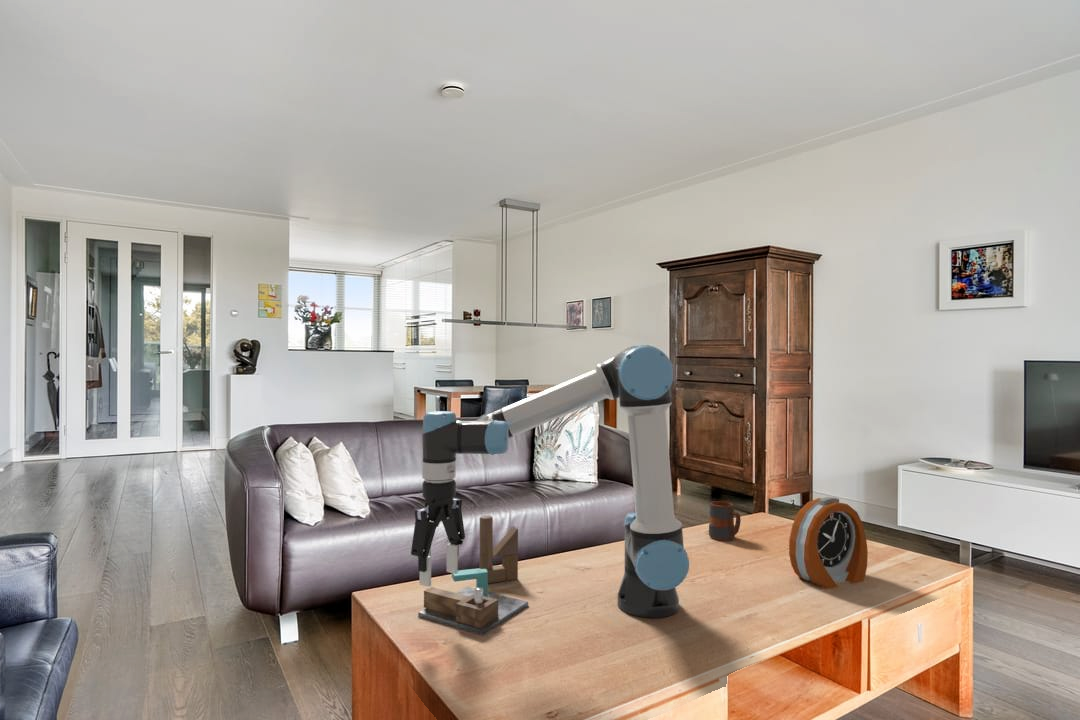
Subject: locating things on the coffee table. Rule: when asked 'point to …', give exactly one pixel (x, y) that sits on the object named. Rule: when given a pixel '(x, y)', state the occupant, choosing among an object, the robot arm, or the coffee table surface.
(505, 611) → the base
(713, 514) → the mug
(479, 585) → the keeper
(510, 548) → the brown wooden bracket frame
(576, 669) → the coffee table surface
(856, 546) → the alarm clock
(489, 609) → the link
